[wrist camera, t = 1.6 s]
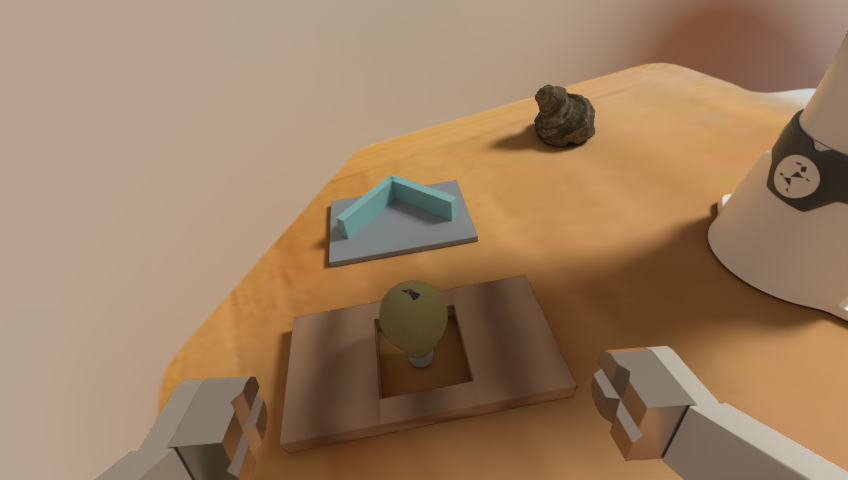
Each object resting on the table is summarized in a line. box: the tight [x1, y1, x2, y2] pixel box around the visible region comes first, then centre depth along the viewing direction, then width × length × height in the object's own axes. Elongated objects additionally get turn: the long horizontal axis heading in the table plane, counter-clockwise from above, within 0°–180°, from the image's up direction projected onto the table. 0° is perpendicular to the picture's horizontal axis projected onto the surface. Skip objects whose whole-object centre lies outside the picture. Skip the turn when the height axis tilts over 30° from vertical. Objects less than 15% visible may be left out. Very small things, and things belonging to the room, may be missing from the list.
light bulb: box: [379, 281, 448, 367], centre depth 32 cm, size 6×6×10 cm
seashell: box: [534, 85, 595, 147], centre depth 59 cm, size 11×12×10 cm
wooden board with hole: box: [280, 275, 577, 453], centre depth 35 cm, size 24×12×2 cm, turn 99°
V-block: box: [329, 175, 478, 267], centre depth 49 cm, size 18×12×4 cm, turn 99°
